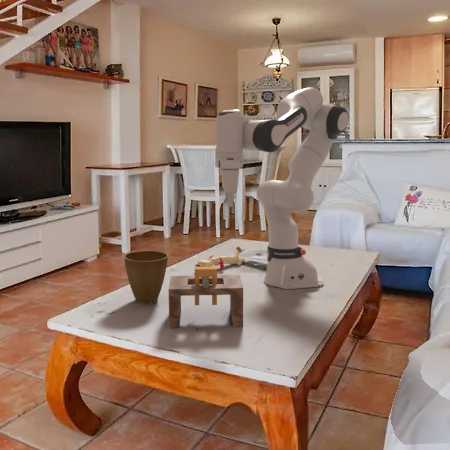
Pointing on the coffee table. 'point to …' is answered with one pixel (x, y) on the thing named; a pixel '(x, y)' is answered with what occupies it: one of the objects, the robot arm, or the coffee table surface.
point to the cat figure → (221, 260)
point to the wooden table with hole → (187, 287)
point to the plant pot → (146, 274)
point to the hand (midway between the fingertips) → (229, 204)
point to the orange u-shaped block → (206, 273)
